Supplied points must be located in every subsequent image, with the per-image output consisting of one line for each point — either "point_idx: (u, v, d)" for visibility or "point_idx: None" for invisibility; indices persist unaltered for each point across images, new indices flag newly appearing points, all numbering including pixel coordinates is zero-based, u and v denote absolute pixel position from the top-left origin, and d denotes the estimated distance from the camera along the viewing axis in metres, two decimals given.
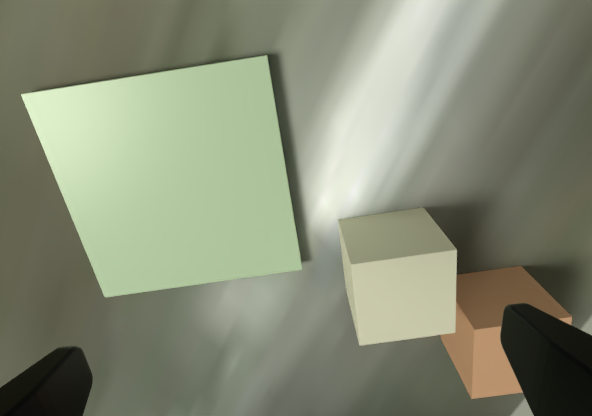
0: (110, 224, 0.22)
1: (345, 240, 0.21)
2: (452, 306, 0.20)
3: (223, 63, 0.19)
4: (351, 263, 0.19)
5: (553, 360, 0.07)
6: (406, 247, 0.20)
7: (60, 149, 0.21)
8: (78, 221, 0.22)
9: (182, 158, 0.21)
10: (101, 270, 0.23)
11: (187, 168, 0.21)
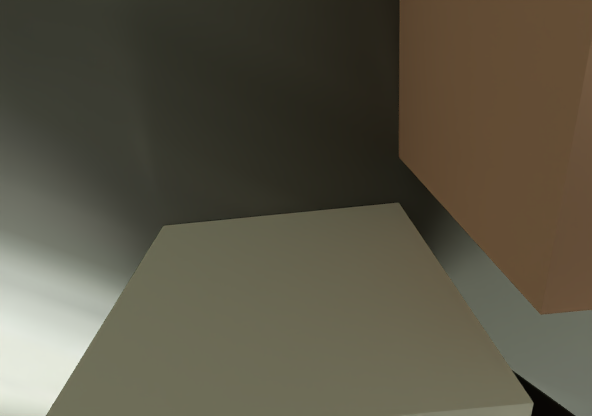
0: None
1: None
2: None
3: None
4: None
5: None
6: None
7: None
8: None
9: None
10: None
11: None
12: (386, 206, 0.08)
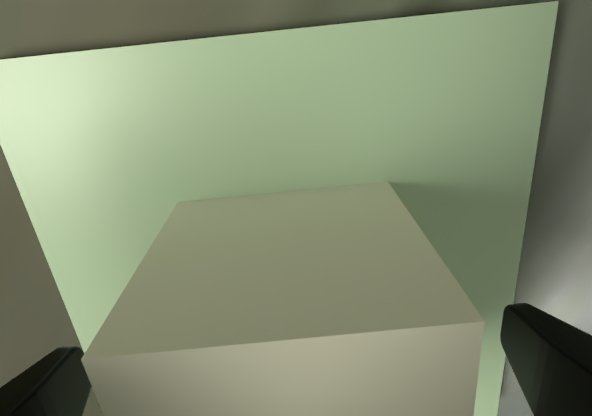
0: None
1: None
2: (345, 345, 0.05)
3: (454, 14, 0.08)
4: None
5: (553, 360, 0.07)
6: None
7: (55, 190, 0.09)
8: (84, 329, 0.11)
9: None
10: None
11: None
12: (377, 184, 0.09)
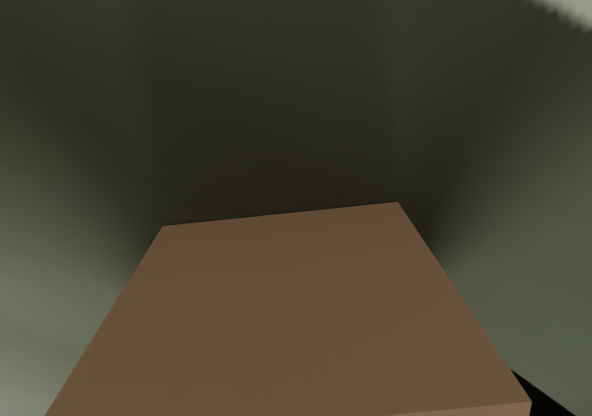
0: None
1: None
2: None
3: None
4: None
5: None
6: None
7: None
8: None
9: None
10: None
11: None
12: None
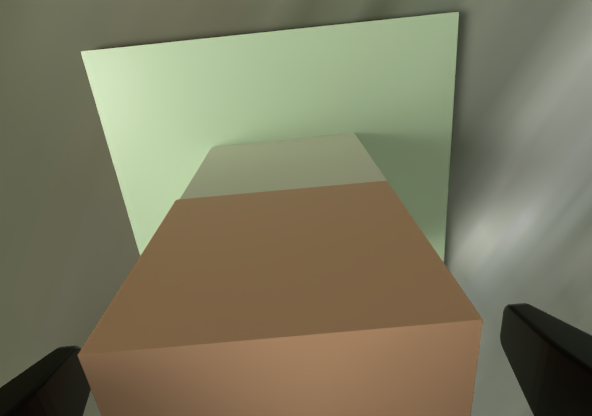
0: None
1: None
2: None
3: (392, 20, 0.13)
4: None
5: (553, 360, 0.07)
6: None
7: (130, 137, 0.14)
8: (143, 241, 0.16)
9: None
10: None
11: None
12: (346, 134, 0.14)
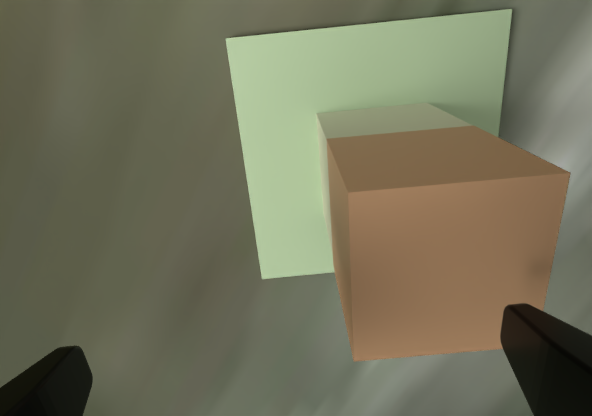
0: (289, 195, 0.20)
1: (328, 236, 0.18)
2: None
3: (461, 15, 0.17)
4: None
5: (553, 360, 0.07)
6: (328, 190, 0.15)
7: (254, 106, 0.18)
8: (254, 190, 0.20)
9: None
10: (265, 248, 0.21)
11: None
12: (421, 103, 0.18)
